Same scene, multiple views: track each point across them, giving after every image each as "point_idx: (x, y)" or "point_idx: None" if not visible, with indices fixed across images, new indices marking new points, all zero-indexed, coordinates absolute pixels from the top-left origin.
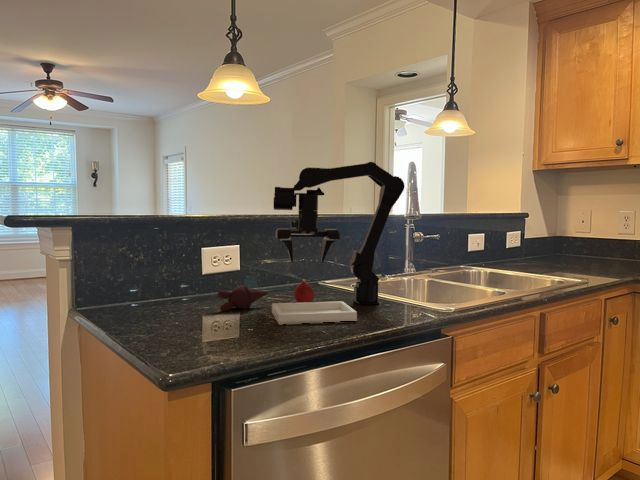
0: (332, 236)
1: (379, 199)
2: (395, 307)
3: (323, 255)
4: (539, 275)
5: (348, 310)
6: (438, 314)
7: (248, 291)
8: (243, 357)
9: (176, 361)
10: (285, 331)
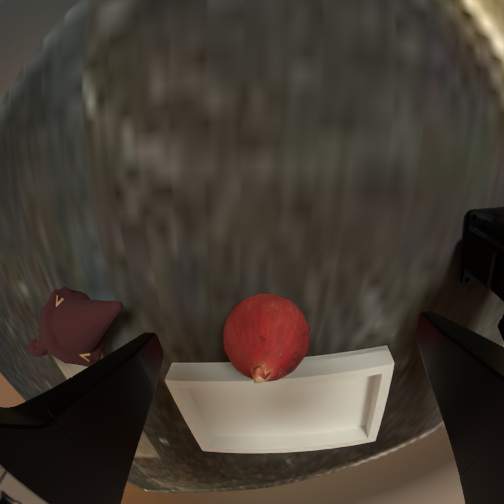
0: None
1: None
2: None
3: (439, 397)
4: None
5: (370, 420)
6: None
7: (82, 364)
8: (188, 489)
9: (133, 478)
10: (223, 456)
